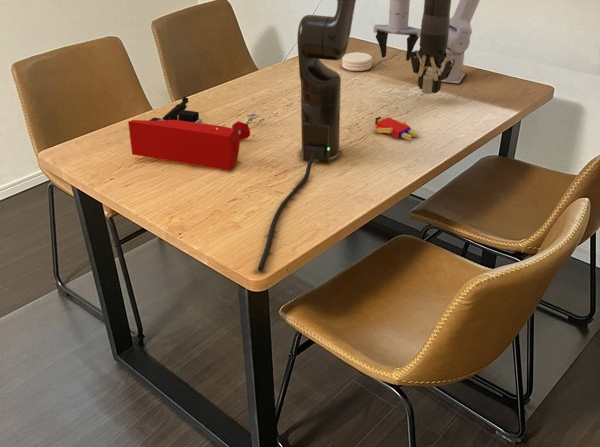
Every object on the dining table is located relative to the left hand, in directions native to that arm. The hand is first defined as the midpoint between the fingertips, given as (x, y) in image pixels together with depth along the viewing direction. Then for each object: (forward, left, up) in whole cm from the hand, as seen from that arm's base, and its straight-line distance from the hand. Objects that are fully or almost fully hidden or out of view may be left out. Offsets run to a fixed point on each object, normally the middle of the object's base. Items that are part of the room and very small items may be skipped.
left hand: (428, 90), depth 178 cm
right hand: (+12, +12, +5) cm, 18 cm away
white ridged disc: (+26, +27, -4) cm, 38 cm away
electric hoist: (-41, +52, -4) cm, 66 cm away
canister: (0, 0, 0) cm, 0 cm away
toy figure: (-24, +6, -4) cm, 24 cm away
